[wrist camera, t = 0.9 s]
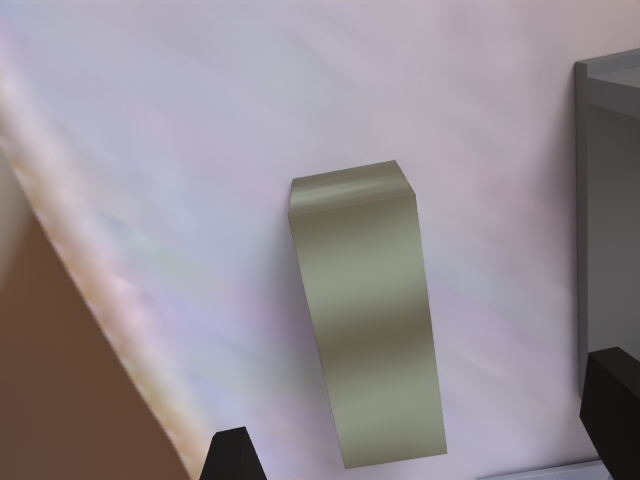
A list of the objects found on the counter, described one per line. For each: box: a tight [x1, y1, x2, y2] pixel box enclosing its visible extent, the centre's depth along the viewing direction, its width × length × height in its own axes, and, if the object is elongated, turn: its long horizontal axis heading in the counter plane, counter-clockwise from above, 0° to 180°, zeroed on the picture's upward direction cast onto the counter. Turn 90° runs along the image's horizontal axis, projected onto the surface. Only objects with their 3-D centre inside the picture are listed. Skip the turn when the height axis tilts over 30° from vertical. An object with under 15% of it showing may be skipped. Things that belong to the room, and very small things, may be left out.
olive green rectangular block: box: [288, 160, 447, 469], centre depth 23 cm, size 12×4×5 cm, turn 11°
